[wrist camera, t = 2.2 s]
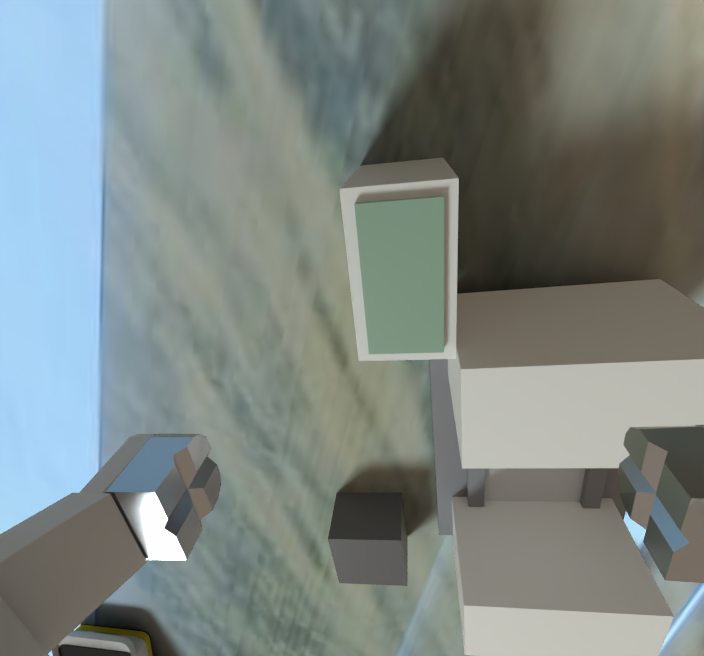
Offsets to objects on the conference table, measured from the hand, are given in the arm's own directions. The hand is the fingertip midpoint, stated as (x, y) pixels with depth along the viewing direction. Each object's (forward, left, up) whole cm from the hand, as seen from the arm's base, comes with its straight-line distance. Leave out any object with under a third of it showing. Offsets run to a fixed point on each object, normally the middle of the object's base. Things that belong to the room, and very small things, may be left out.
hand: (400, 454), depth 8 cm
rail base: (+13, +7, -15) cm, 21 cm away
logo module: (0, 0, -15) cm, 15 cm away
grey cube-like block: (+22, -4, -16) cm, 27 cm away
